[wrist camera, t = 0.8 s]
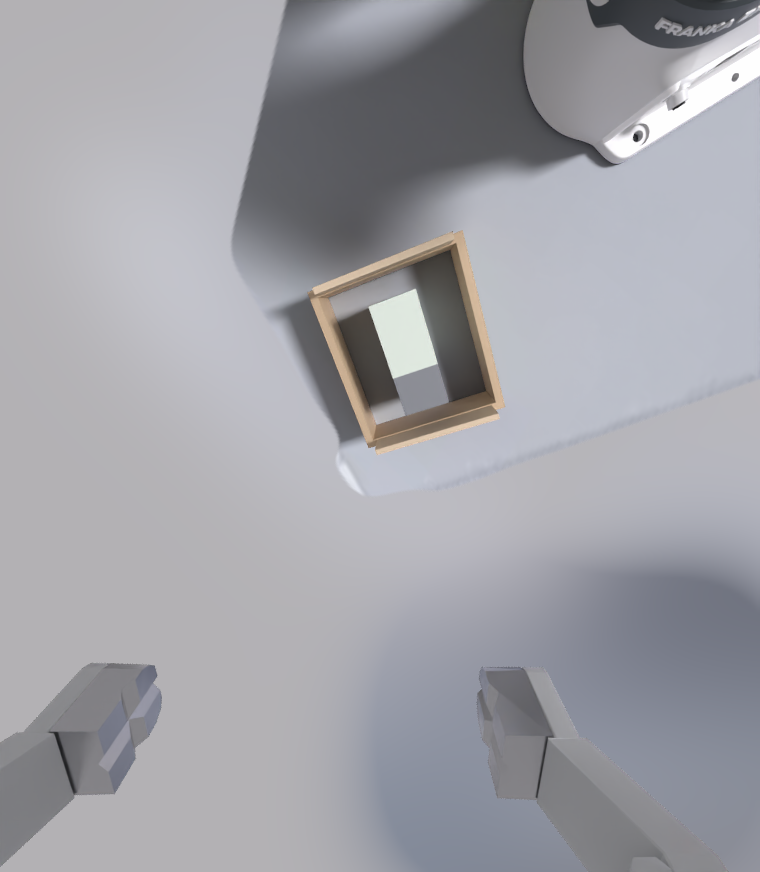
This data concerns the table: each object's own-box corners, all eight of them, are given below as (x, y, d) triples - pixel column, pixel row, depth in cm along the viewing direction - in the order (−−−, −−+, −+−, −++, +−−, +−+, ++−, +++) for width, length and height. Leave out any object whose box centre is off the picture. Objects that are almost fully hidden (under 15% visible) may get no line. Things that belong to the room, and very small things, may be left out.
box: (413, 290, 39) (415, 288, 31) (441, 383, 42) (449, 402, 35) (375, 304, 40) (368, 306, 32) (406, 395, 43) (405, 415, 36)
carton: (455, 238, 37) (467, 223, 29) (494, 395, 42) (513, 415, 35) (319, 293, 40) (298, 292, 32) (372, 432, 45) (365, 459, 38)
